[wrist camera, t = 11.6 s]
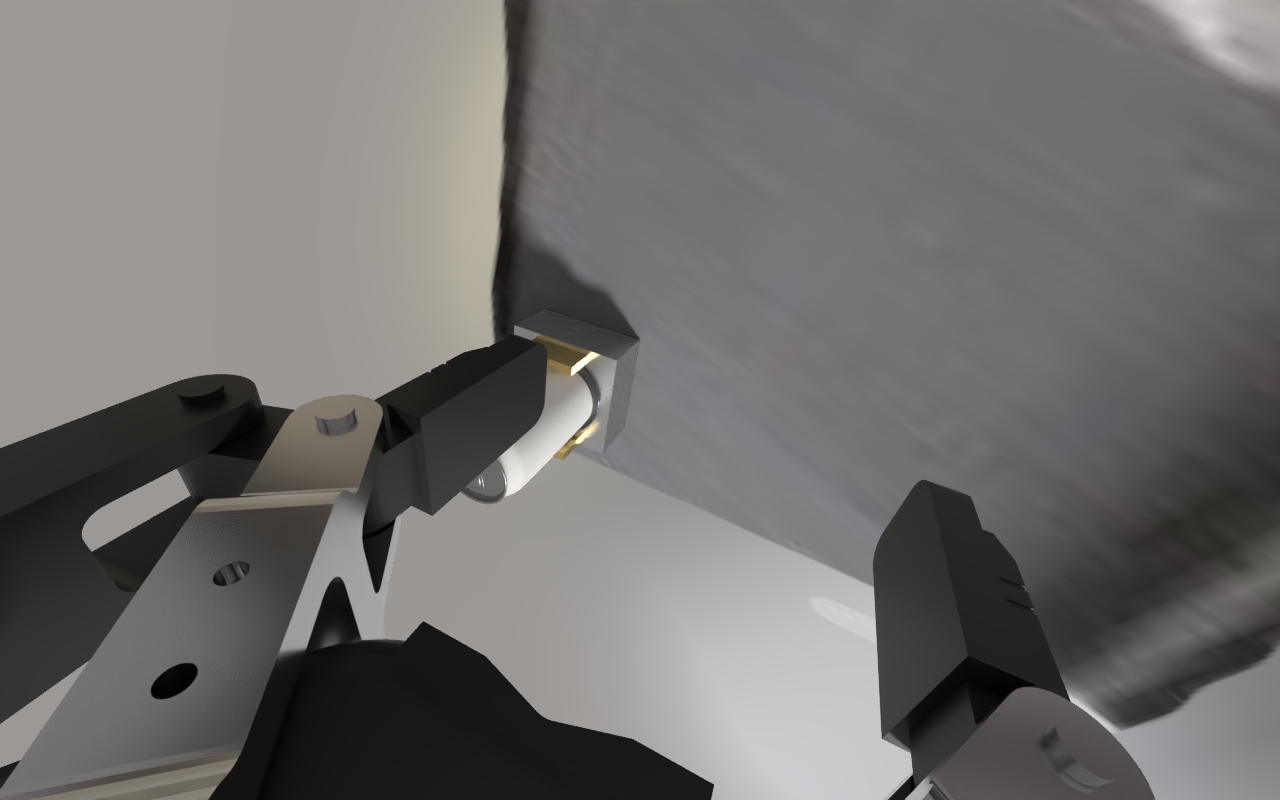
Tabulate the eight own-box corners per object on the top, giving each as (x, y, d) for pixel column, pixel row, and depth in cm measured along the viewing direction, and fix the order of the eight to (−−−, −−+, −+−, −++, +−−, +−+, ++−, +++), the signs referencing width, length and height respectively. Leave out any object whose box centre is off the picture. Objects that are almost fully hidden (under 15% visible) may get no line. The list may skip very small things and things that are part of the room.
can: (526, 403, 43) (430, 478, 33) (539, 347, 39) (436, 413, 30) (584, 437, 42) (503, 524, 32) (603, 382, 38) (519, 463, 29)
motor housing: (527, 302, 44) (471, 329, 38) (639, 339, 42) (600, 375, 35) (524, 389, 50) (475, 425, 43) (624, 427, 47) (587, 472, 40)
